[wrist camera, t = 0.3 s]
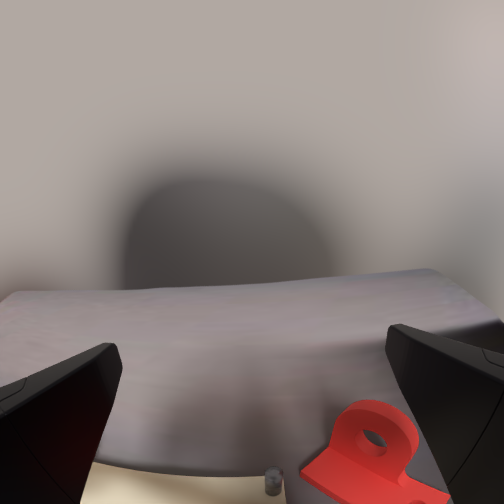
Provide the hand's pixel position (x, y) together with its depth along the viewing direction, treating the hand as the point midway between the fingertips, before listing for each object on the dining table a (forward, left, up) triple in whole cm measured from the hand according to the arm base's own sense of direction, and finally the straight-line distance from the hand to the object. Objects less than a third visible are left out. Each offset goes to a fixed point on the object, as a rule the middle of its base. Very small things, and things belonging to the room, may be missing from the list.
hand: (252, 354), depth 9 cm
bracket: (+1, -9, -17) cm, 19 cm away
